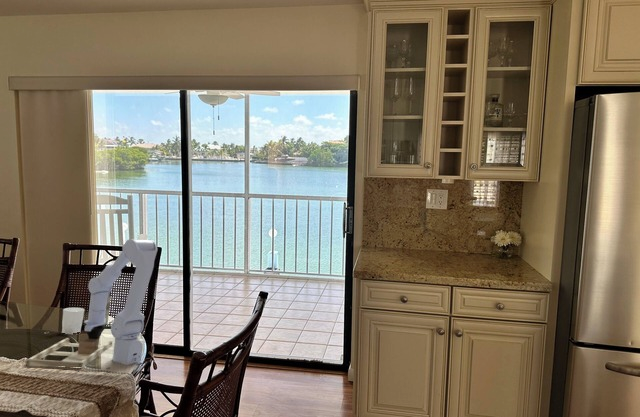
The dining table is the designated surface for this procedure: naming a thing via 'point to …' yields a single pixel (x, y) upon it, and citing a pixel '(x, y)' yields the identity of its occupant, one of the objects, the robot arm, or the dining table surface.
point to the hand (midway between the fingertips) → (93, 346)
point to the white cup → (72, 320)
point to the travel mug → (107, 308)
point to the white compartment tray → (72, 358)
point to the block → (88, 346)
